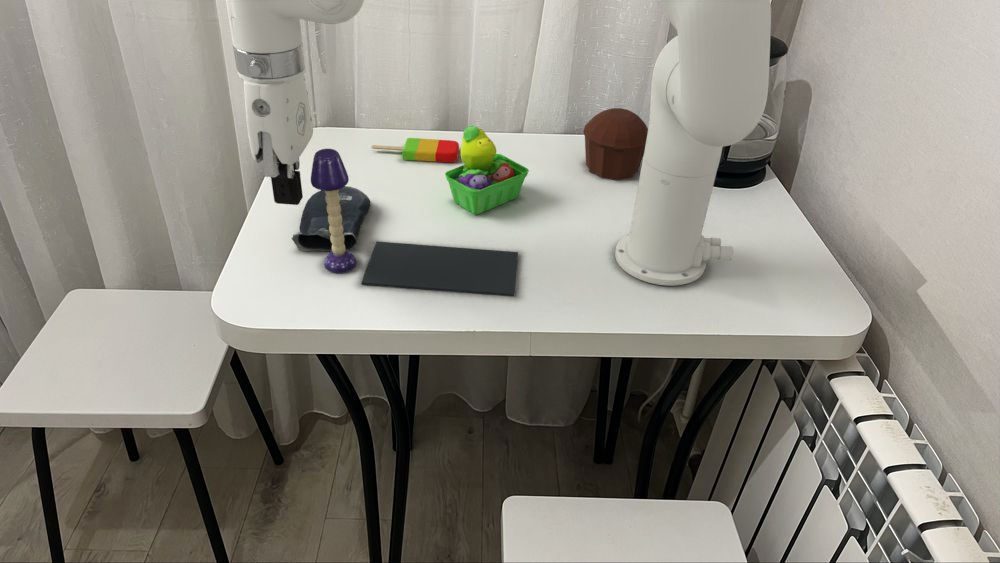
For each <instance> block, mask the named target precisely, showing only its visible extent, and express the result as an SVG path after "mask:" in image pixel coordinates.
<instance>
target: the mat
mask: <svg viewBox="0 0 1000 563" xmlns="http://www.w3.org/2000/svg"><path fill="white" fill-rule="evenodd" d="M518 257H519V251H511V250H510V251H508V250H498V249H497V250H495V249H482V248H471V247H470V248H469V247H456V246H443V245H442V246H441V245H431V244H430V245H429V244H426V245H425V244H416V243H415V244H414V243H401V242H390V241H376V242H375V243H374V247H373V249H372V252H371V255H370V257H369V261H368V263H367V266H366V269H365V272H364V274H363V277H362V279H361V283H360V284H361V285H362V286H370V287H371V286H374V287H387V288H399V289H413V290H425V291H426V290H427V291H437V292H449V293H450V292H453V293H465V294H478V295H491V296H504V297H515V296H516V282H517V272H518V271H517V269H518Z"/></svg>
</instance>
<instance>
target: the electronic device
mask: <svg viewBox="0 0 1000 563" xmlns="http://www.w3.org/2000/svg"><path fill="white" fill-rule="evenodd" d="M338 194H339V197H340V202H339V204H340V206H341V213H340V214H341V216H342V223H341V224H342V225H343V235H344V244H345V250H348V251H350V250H351V249H353V248H354V247H355V246H356V245H357V244H358V243H357V241H358V236H359V234H360V230H361V228H362V224H363V221H364V219H365V217H366V215H367V214H368V213H369V211H370V208H371V199H370V198H369V196H368V195H367V194H366V193H365V192H363V191H362V190H360V189H358V188H356V187H353V186H347V185H346V186H344V187H343V188H341V189H339V191H338ZM325 196H326V193H325V191H322V190H319V191H316V192H315V193H313V194H311V196H310V198H308V199H307V201H306V203H305V206H304V208H303V210H302V214H301V217H300V223H299V231H298V232H296V233H295V234H293V235H292V237H291V240H292V242H293V243H294V245H295V246H296V248H297V249H298V251H299V252H309V251H318V252H320V251H322V252H332V243H331V239H330V237H331V233H330V231H329V226H330V224H329V222H328V215H329V214H328V212H327V205H328V204H327V203H326V200H325Z"/></svg>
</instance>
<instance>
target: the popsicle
mask: <svg viewBox="0 0 1000 563" xmlns="http://www.w3.org/2000/svg"><path fill="white" fill-rule="evenodd" d="M370 148H371V149H372V150H385V151H387V150H388V151H401V153H402V154H401V156H402V157H401V158H402V160H404V161H418V162H419V161H420V162H433V163H435V162H436V163H437V162H438V163H455V162H456V161H458V158H459V152H460V144H459V142H458V141H456V140H450V139H434V138H433V139H432V138H417V137H407V138H406V140H405V143H404V146H397V145H379V144H372V145H371V146H370Z"/></svg>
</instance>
